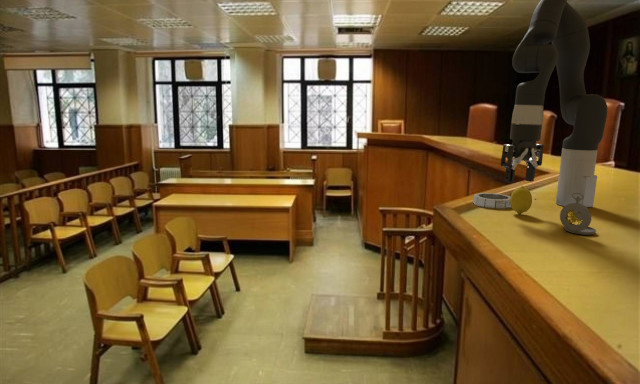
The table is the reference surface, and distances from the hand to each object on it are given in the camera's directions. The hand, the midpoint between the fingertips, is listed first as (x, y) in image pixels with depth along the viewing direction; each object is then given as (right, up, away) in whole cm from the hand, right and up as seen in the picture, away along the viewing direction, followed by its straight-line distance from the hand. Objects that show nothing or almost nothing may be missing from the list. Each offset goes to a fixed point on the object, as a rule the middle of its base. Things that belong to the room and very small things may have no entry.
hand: (519, 182), depth 120 cm
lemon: (+1, -9, +1) cm, 9 cm away
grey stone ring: (-2, -7, +13) cm, 15 cm away
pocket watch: (+6, -13, -16) cm, 21 cm away
